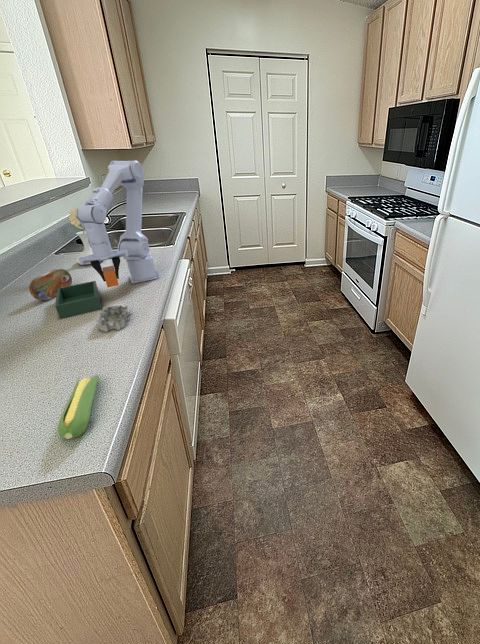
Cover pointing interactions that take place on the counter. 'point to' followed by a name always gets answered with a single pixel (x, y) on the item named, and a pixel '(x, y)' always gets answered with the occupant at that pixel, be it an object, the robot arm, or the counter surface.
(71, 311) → the bin
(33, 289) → the tin
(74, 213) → the flower in vase
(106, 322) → the grey stone
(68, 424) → the edible corn
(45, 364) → the counter surface
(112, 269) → the orange block
